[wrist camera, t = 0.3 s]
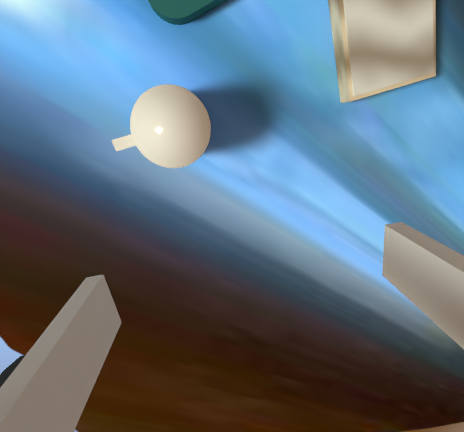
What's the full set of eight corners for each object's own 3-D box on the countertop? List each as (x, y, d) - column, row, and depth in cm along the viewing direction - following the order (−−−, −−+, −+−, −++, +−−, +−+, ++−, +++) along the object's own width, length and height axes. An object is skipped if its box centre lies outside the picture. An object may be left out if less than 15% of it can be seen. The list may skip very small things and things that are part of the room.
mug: (120, 109, 34) (90, 106, 26) (200, 85, 34) (196, 73, 25) (144, 169, 37) (124, 184, 28) (218, 147, 37) (220, 155, 28)
